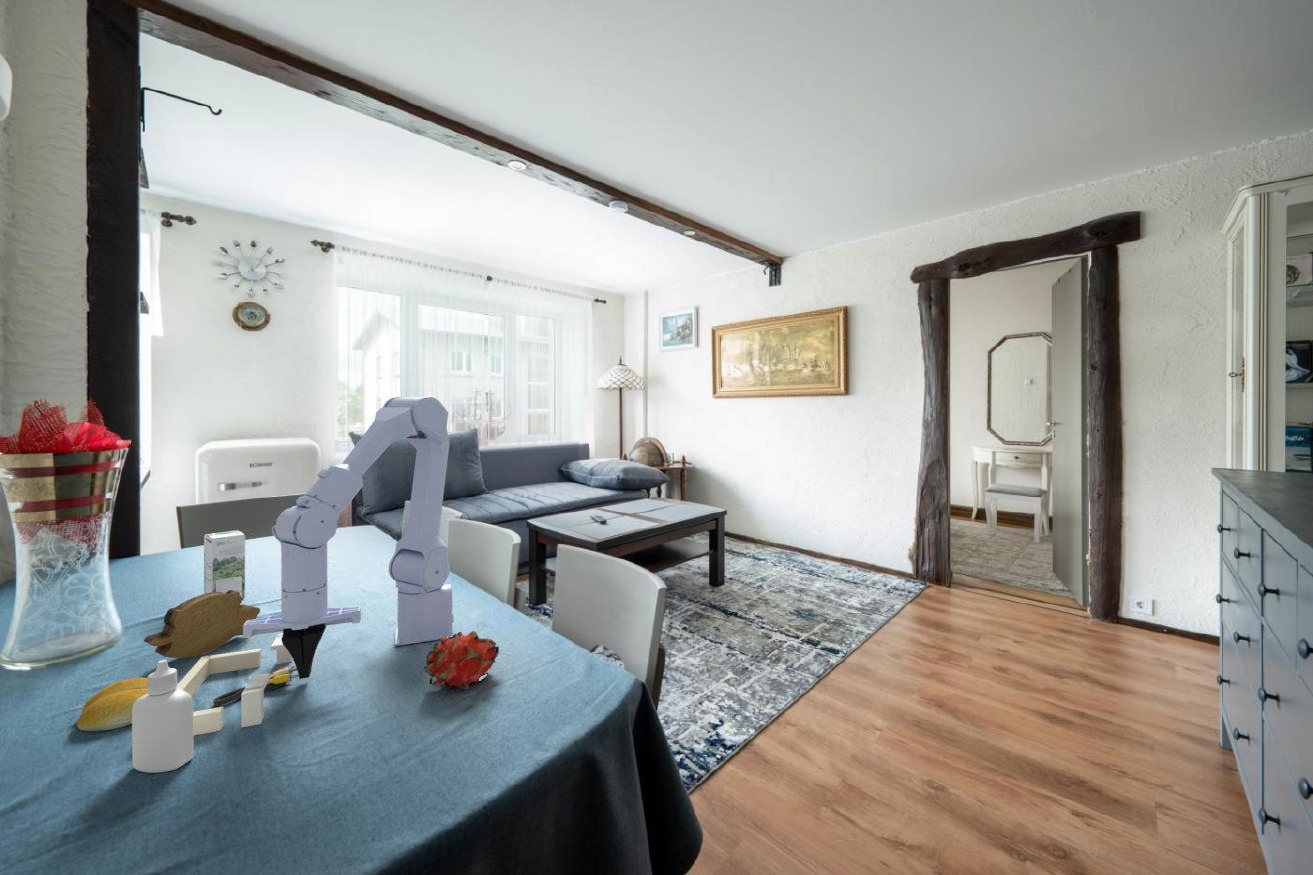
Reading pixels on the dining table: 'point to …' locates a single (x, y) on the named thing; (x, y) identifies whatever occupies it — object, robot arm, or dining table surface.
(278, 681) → the composite cable
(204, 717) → the end holder
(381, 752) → the dining table surface
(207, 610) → the wooden carving
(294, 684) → the dining table surface
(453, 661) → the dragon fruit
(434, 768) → the dining table surface
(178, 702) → the eye dropper bottle
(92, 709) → the bread roll
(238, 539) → the syrup box
